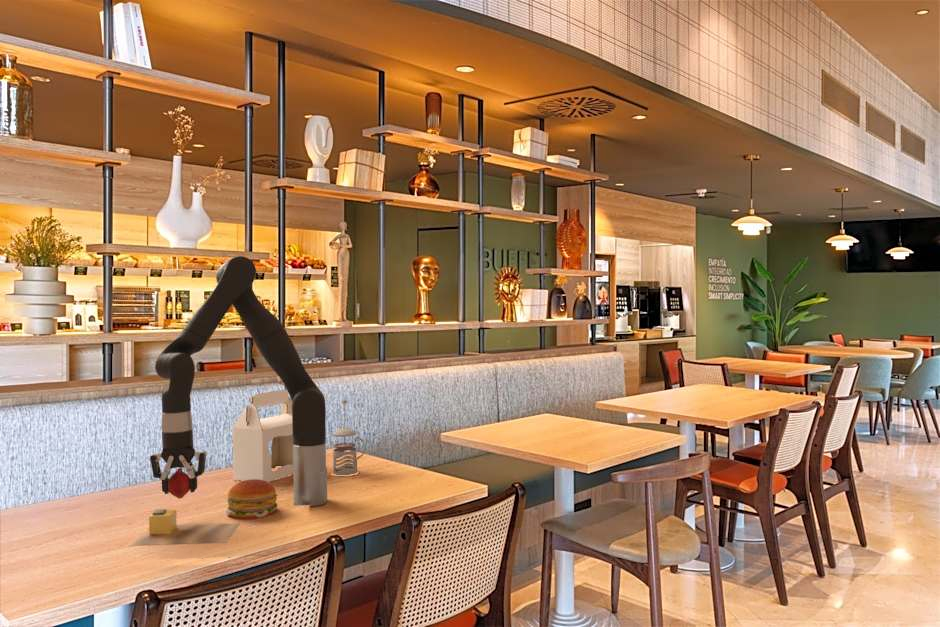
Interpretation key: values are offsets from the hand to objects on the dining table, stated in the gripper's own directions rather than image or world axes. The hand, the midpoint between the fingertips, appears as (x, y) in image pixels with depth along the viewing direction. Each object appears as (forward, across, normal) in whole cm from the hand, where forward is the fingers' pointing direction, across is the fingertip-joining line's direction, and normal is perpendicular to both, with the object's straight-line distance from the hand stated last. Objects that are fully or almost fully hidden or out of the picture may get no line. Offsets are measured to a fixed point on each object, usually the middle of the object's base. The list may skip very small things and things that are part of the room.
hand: (179, 492), depth 194 cm
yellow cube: (+7, +2, +9) cm, 12 cm away
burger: (+9, -17, -5) cm, 20 cm away
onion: (+2, 0, 0) cm, 2 cm away
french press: (+10, -40, -52) cm, 66 cm away
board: (+9, -5, +14) cm, 17 cm away
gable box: (+9, -15, -53) cm, 56 cm away
